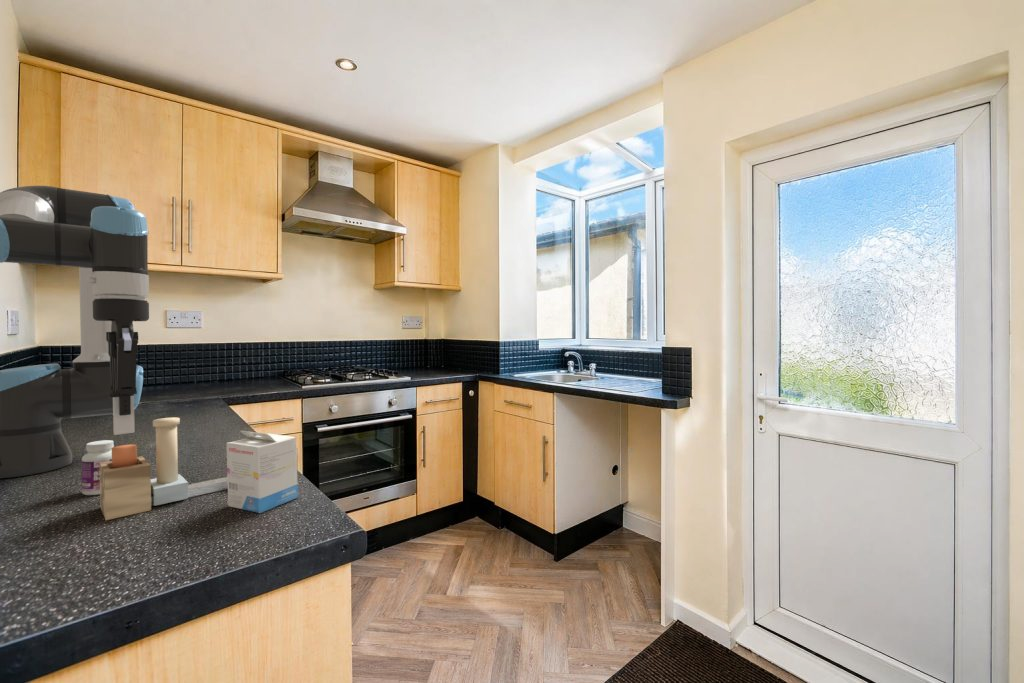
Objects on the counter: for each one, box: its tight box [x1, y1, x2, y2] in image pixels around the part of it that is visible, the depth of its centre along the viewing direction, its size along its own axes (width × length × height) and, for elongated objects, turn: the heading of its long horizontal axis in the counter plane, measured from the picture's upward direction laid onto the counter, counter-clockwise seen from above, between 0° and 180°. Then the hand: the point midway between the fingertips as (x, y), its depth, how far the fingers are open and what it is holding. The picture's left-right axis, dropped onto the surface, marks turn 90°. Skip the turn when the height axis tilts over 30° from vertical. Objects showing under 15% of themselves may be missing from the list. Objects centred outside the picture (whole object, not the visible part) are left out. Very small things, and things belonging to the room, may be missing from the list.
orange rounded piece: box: [112, 444, 138, 469], centre depth 81 cm, size 3×3×4 cm
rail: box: [151, 476, 228, 507], centre depth 89 cm, size 6×15×3 cm, turn 137°
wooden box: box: [99, 455, 152, 521], centre depth 82 cm, size 8×6×8 cm
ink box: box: [225, 430, 299, 514], centre depth 85 cm, size 9×8×13 cm
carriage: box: [151, 416, 189, 506], centre depth 86 cm, size 7×5×15 cm
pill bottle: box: [81, 439, 115, 496], centre depth 90 cm, size 5×5×10 cm
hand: (124, 432), depth 81 cm, fingers closed
